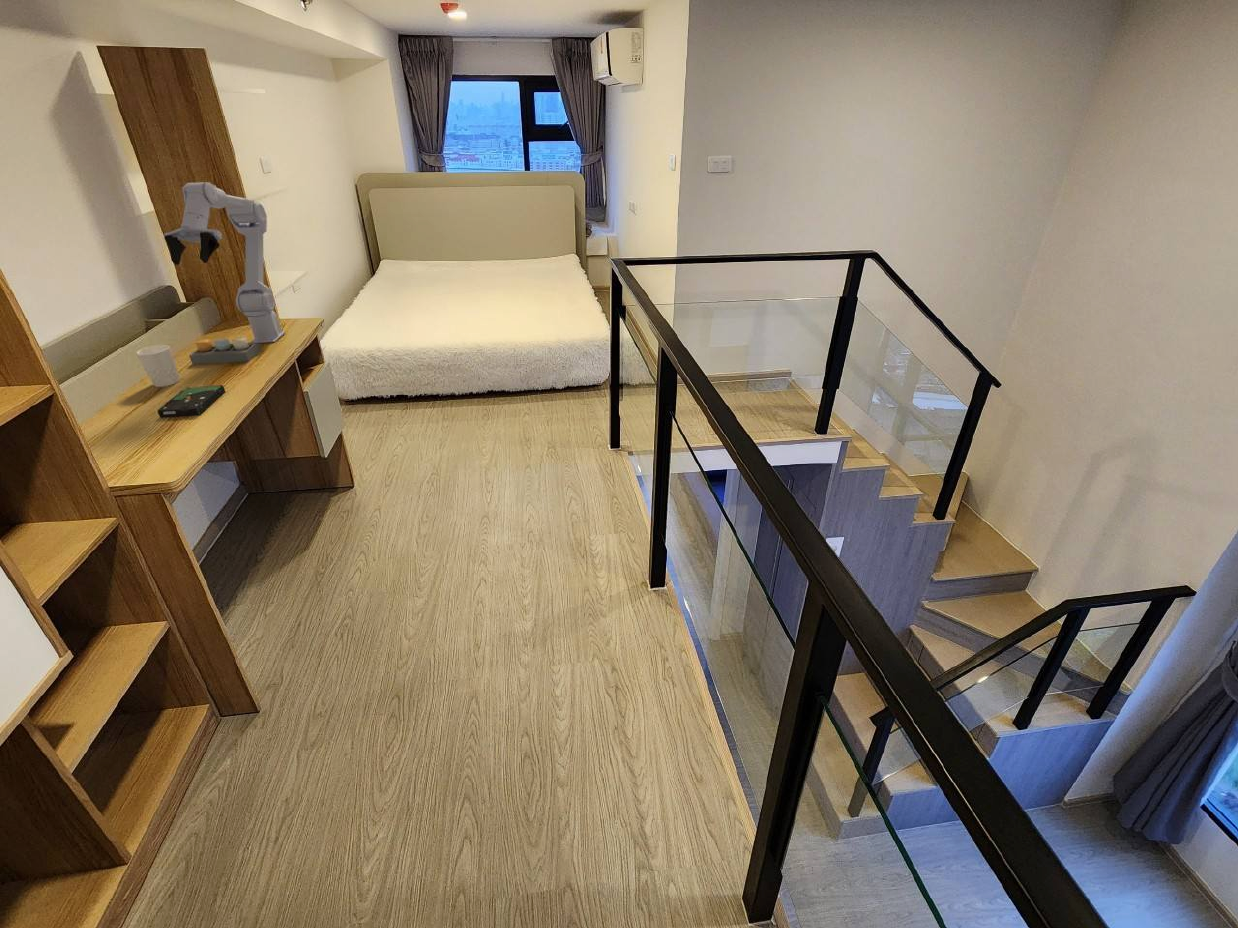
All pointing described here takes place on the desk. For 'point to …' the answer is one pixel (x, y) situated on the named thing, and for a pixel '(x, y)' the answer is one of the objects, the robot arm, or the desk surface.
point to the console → (225, 355)
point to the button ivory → (240, 343)
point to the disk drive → (191, 401)
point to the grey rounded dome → (222, 344)
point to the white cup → (159, 365)
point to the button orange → (204, 345)
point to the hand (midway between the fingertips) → (189, 261)
